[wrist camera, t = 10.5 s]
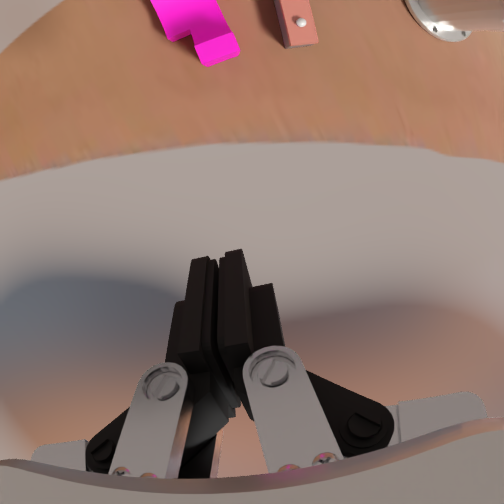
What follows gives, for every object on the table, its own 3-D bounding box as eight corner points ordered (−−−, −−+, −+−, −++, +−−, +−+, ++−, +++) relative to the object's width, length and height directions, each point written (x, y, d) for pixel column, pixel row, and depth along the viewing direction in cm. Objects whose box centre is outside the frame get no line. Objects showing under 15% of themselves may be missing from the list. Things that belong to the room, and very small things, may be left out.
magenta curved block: (144, -23, 23) (126, -41, 17) (194, -43, 23) (186, -67, 16) (187, 75, 31) (177, 74, 25) (238, 55, 30) (240, 50, 24)
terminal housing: (294, -20, 25) (302, -30, 21) (310, 45, 30) (320, 42, 26) (269, -17, 25) (274, -28, 21) (285, 48, 30) (292, 45, 26)
